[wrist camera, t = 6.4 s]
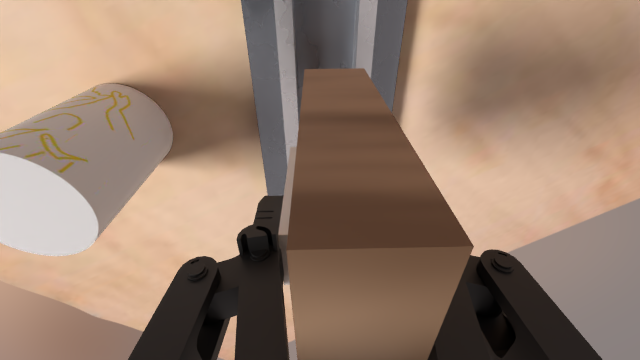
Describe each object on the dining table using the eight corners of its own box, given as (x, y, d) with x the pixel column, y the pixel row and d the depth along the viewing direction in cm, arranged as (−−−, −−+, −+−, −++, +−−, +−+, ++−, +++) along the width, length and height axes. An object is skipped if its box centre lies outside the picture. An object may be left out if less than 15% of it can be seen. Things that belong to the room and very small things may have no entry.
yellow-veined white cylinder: (161, 86, 25) (65, 154, 15) (180, 165, 30) (116, 257, 20) (63, 80, 25) (-100, 147, 15) (98, 162, 29) (-10, 254, 20)
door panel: (302, 69, 15) (280, 249, 5) (366, 68, 15) (479, 246, 5) (308, 219, 20) (304, 448, 10) (354, 218, 20) (394, 446, 10)
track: (235, -69, 20) (223, -76, 17) (412, -70, 20) (427, -77, 17) (269, 192, 32) (266, 211, 29) (377, 190, 32) (383, 208, 30)
